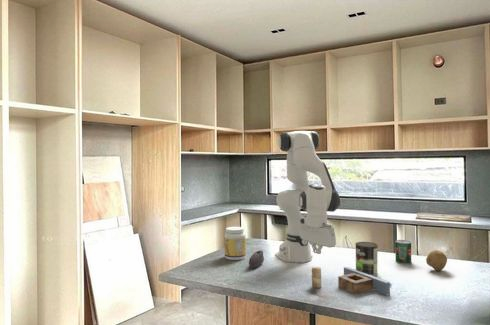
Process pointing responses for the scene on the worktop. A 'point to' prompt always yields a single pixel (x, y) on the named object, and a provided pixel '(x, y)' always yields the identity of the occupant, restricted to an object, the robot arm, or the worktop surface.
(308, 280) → the worktop surface
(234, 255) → the supplement tub
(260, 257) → the perforated stone tool
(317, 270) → the dowel
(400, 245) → the canned tomato
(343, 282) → the block
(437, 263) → the natural sponge
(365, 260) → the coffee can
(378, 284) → the wall
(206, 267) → the worktop surface
